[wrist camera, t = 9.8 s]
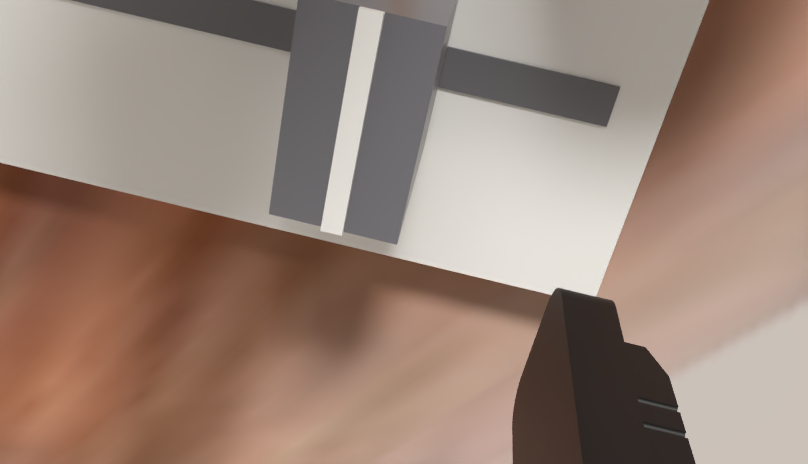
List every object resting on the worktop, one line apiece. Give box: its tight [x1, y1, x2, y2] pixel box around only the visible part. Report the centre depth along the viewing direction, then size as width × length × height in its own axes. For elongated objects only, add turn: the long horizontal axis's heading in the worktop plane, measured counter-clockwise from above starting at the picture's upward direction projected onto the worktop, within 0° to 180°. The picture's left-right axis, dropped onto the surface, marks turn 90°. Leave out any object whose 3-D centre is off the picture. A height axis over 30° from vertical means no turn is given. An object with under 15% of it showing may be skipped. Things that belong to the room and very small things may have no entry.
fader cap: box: [269, 0, 458, 245], centre depth 19 cm, size 5×3×6 cm, turn 168°
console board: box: [0, 0, 709, 297], centre depth 23 cm, size 13×28×2 cm, turn 78°
